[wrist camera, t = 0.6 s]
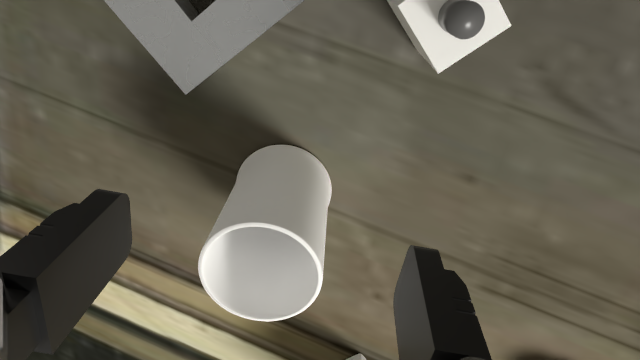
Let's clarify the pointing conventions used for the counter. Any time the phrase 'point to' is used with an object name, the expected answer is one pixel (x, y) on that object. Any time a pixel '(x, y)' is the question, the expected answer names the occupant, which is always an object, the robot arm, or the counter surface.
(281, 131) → the counter surface
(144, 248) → the counter surface
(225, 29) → the socket plate
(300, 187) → the mug
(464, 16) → the plug
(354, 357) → the ink box
